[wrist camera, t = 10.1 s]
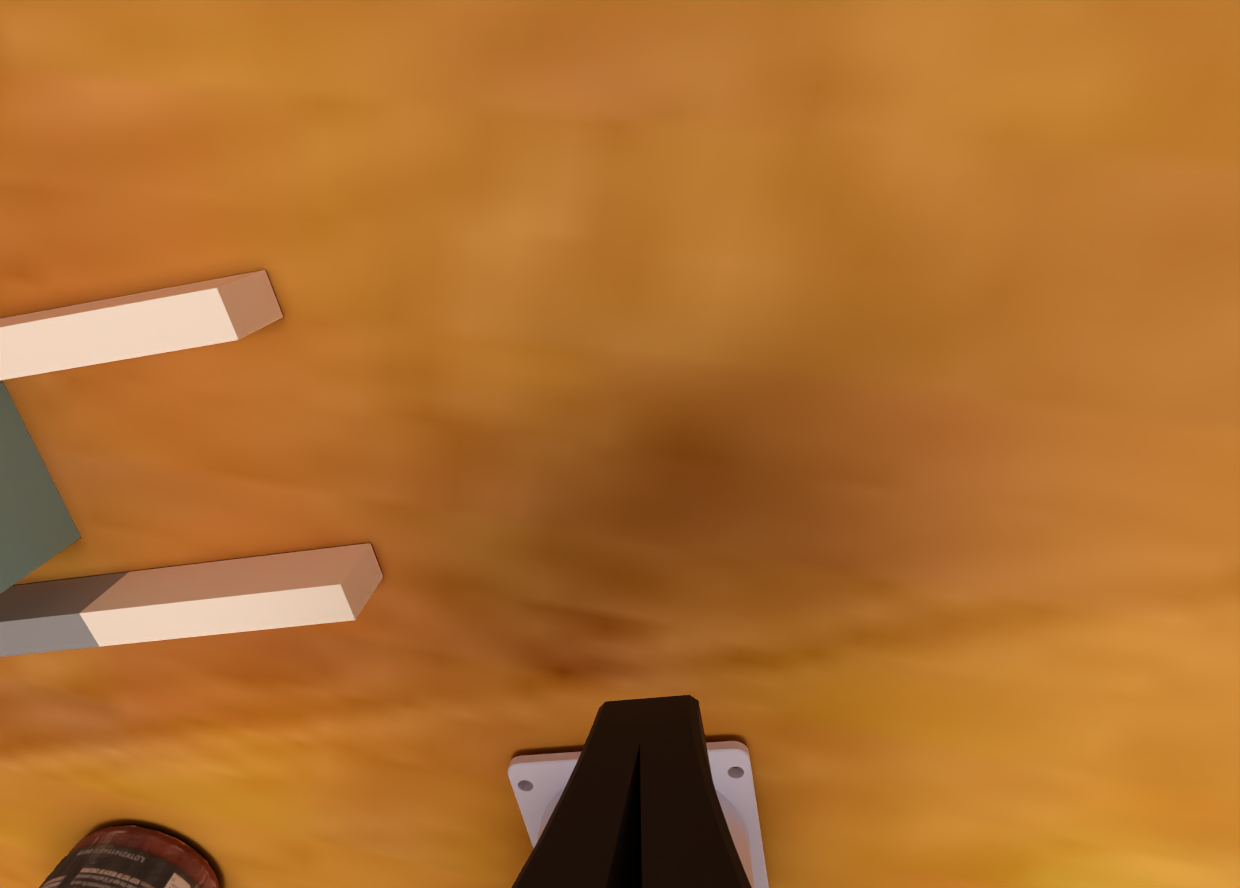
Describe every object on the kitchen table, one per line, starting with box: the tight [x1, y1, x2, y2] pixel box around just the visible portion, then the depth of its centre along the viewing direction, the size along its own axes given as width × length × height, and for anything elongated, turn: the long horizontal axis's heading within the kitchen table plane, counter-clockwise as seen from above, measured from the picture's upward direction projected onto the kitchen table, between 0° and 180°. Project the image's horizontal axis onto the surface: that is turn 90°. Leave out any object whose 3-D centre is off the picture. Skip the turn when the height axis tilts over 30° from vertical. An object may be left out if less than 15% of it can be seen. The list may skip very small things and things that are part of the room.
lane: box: [0, 270, 383, 657], centre depth 19 cm, size 9×16×2 cm, turn 100°
